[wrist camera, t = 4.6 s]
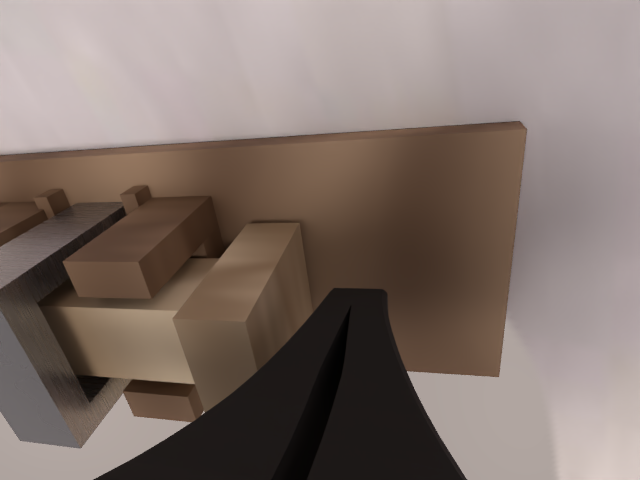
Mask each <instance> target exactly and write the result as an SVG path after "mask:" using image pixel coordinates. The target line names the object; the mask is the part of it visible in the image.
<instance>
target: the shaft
mask: <svg viewBox="0 0 640 480" xmlns="http://www.w3.org/2000/svg"><path fill="white" fill-rule="evenodd" d="M37 303H38V305H39V307H40V309H41V311H42V313H43V315H44V317H45V319H46V321H47V323H48V324H49V326H50V328H51V330H52V332H53V334H54V336H55V338H56V340H57V342H58V344H59V345H60V347H61V349H62V351H63V353H64V355H65V357H66V359H67V361H68V363H69V364H70V366H71V368H72V370H73V372H74V374H75V375H87V376H100V377H112V378H124V379H137V380H149V381H162V382H174V383H187V384H195V386H196V389H197V391H198V394H199V397H200V400H201V403H202V406H203V409H204V411H205V412H207V411H208V410H210V409H211V408H212V407H214V406H215V405H217V404H218V403H219V402H221V401H222V400H224V399H225V398H226V397H227V396H229V395H230V394H231V393H233V392H234V391H235V390H236V389H237V388H239V387H240V386H241V385H242V384H243V383H244V382H246V381H247V380H248V379H249V378H250V377H251V376H253V375H254V374H255V373H256V372H257V371H258V370H259V369H260V368H261V367H262V366H263V365H265V364H266V363H267V362H268V361H269V360H270V359H271V358H272V357H273V356H274V355H275V354H276V353H277V352H278V351H279V350H280V349H281V348H282V347H283V346H284V345H285V344H286V342H287V341H288V340H289V339H290V338H291V337H292V336H293V335H294V334H295V333H296V331H297V330H298V329H299V328H300V327H301V326H302V325H303V324H304V323H305V321H306V320H307V319H308V318H309V317H310V316H311V314H312V313H313V308H312V301H311V295H310V288H309V282H308V275H307V269H306V262H305V256H304V249H303V242H302V236H301V229H300V223H251V224H246V226H245V227H244V228H243V229H242V231H241V232H240V233H239V235H238V236H237V237H236V238H235V240H234V241H233V242H232V243H231V245H230V246H229V247H228V248H227V250H226V251H225V252H224V254H223V255H222V256H221V257H220V258H189V259H188V260H187V261H186V262H185V263H184V264H183V265H182V266H181V267H180V269H179V270H178V271H177V272H176V273H175V274H174V275H173V276H172V277H171V278H170V280H169V281H168V282H167V283H166V284H165V285H164V286H163V287H162V288H161V289H160V291H159V292H158V293H157V294H156V295H155V296H154V297H153V298H152V299H133V298H99V297H79V296H78V294H77V292H76V290H75V288H74V286H73V283H72V281H71V279H70V277H69V278H68V279H67V280H66V281H64V282H63V283H62V284H60V285H59V286H58V287H57V288H55V289H54V290H53V291H51V292H50V293H49V294H47V295H46V296H45V297H44V298H42V299H41V300H40V301H38V302H37Z"/></svg>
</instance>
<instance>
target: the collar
mask: <svg viewBox="0 0 640 480" xmlns="http://www.w3.org/2000/svg"><path fill="white" fill-rule="evenodd" d="M125 216H127V214H126V211H125V208H124V206H123V203H122V202H90V203H76V204H74V205H72V206H70V207H69V208H67V209H65V210H63V211H62V212H60V213H58V214H57V215H55V216H53V217H51V218H50V219H48V220H46V221H44V222H43V223H41V224H39V225H37V226H36V227H34V228H32V229H30V230H29V231H27V232H25V233H23V234H22V235H20V236H18V237H16V238H15V239H13V240H11V241H9V242H8V243H6V244H4V245H2V246H1V247H0V412H1V413H2V415H3V416H4V418H5V419H6V421H7V422H8V424H9V425H10V426H11V428H12V429H13V431H14V432H15V434H16V435H17V437H18V438H19V440H20V441H27V442H34V443H42V444H49V445H57V446H66V447H73V448H82V446H83V445H84V444H85V442H86V441H87V440H88V438H89V437H90V436H91V434H92V433H93V432H94V430H95V429H96V428H97V427H98V425H99V424H100V422H101V421H102V420H103V419H104V417H105V416H106V415H107V413H108V412H109V411H110V410H111V408H112V407H113V405H114V404H115V403H116V402H117V400H118V399H119V398H120V396H121V395H122V394H123V390H124V389H125V388H126V386H127V385H128V384H129V382H130V381H131V380H132V379H124V378H112V377H100V376H87V375H75V374H74V372H73V370H72V368H71V366H70V364H69V363H68V361H67V359H66V357H65V355H64V353H63V351H62V349H61V347H60V345H59V344H58V342H57V340H56V338H55V336H54V334H53V332H52V330H51V328H50V326H49V324H48V323H47V321H46V319H45V317H44V315H43V313H42V311H41V309H40V307H39V305H38V303H37V302H38V301H40V300H41V299H42V298H44V297H45V296H46V295H47V294H49V293H50V292H51V291H53V290H54V289H55V288H57V287H58V286H59V285H60V284H62V283H63V282H64V281H66V280H67V279H68V278H69V275H68V273H67V271H66V268H65V266H64V264H63V262H62V261H64V260H65V259H66V258H68V257H69V256H71V255H72V254H73V253H75V252H76V251H78V250H79V249H80V248H82V247H83V246H85V245H86V244H87V243H89V242H90V241H92V240H93V239H94V238H96V237H97V236H99V235H100V234H101V233H103V232H104V231H106V230H107V229H108V228H110V227H111V226H113V225H114V224H115V223H117V222H118V221H120V220H121V219H122V218H124V217H125Z"/></svg>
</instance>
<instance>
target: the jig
mask: <svg viewBox="0 0 640 480" xmlns="http://www.w3.org/2000/svg"><path fill="white" fill-rule="evenodd" d="M526 133H527V129H526V128H525V127H524V125H523V124H522V123H521V122H520V121H517V122H502V123H487V124H471V125H456V126H441V127H426V128H411V129H395V130H380V131H365V132H350V133H335V134H320V135H304V136H289V137H274V138H259V139H244V140H229V141H213V142H198V143H183V144H168V145H153V146H137V147H122V148H107V149H92V150H77V151H62V152H46V153H31V154H16V155H1V156H0V247H1V246H2V245H4V244H6V243H8V242H9V241H11V240H13V239H15V238H16V237H18V236H20V235H22V234H23V233H25V232H27V231H29V230H30V229H32V228H34V227H36V226H37V225H39V224H41V223H43V222H44V221H46V220H48V219H50V218H51V217H53V216H55V215H57V214H58V213H60V212H62V211H63V210H65V209H67V208H69V207H70V206H72V205H74V204H76V203H90V202H122V203H123V206H124V208H125V211H126V214H127V216H125V217H124V218H122V219H121V220H120V221H118V222H117V223H115V224H114V225H113V226H111V227H110V228H108V229H107V230H106V231H104V232H103V233H101V234H100V235H99V236H97V237H96V238H94V239H93V240H92V241H90V242H89V243H87V244H86V245H85V246H83V247H82V248H80V249H79V250H78V251H76V252H75V253H73V254H72V255H71V256H69V257H68V258H66V259H65V260H64V261H62V262H63V264H64V266H65V268H66V271H67V273H68V275H69V277H70V279H71V281H72V283H73V286H74V288H75V290H76V292H77V294H78V296H79V297H99V298H133V299H152V298H153V297H154V296H155V295H156V294H157V293H158V292H159V291H160V289H161V288H162V287H163V286H164V285H165V284H166V283H167V282H168V281H169V280H170V278H171V277H172V276H173V275H174V274H175V273H176V272H177V271H178V270H179V269H180V267H181V266H182V265H183V264H184V263H185V262H186V261H187V260H188V259H189V258H220V257H221V256H222V255H223V254H224V252H225V251H226V250H227V248H228V247H229V246H230V245H231V243H232V242H233V241H234V240H235V238H236V237H237V236H238V235H239V233H240V232H241V231H242V229H243V228H244V227H245V226H246V224H251V223H300V229H301V236H302V242H303V249H304V256H305V262H306V269H307V275H308V282H309V288H310V295H311V301H312V308H313V312H314V311H315V310H316V308H317V307H318V306H319V305H320V303H321V302H322V301H323V300H324V298H325V297H326V296H327V295H328V293H329V292H330V291H331V290H332V289H333V288H364V289H383V290H385V291H386V292H387V294H388V315H389V320H390V325H391V328H392V332H393V335H394V338H395V341H396V345H397V348H398V351H399V353H400V356H401V359H402V361H403V364H404V366H405V369H406V371H414V372H429V373H444V374H461V375H475V376H491V377H499V372H500V363H501V354H502V345H503V337H504V328H505V319H506V310H507V301H508V292H509V284H510V275H511V266H512V257H513V248H514V239H515V230H516V222H517V213H518V204H519V195H520V186H521V177H522V168H523V160H524V151H525V142H526ZM123 393H124V395H125V397H126V400H127V401H128V404H129V406H130V408H131V410H132V413H133V414H134V416H137V417H147V418H157V419H167V420H176V421H186V422H193V421H194V420H196V419H197V418H199V417H200V416H201V414H202V413H203V411H204V409H203V406H202V403H201V400H200V397H199V394H198V391H197V389H196V386H195V384H187V383H174V382H162V381H149V380H137V379H132V380H131V381H130V382H129V384H128V385H127V386H126V388H125V389H124V390H123Z"/></svg>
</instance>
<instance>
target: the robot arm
mask: <svg viewBox="0 0 640 480" xmlns="http://www.w3.org/2000/svg"><path fill="white" fill-rule="evenodd" d="M94 480H467V479H466V478H465V476H464V474H463V473H462V471H461V470H460V468H459V467H458V465H457V463H456V462H455V460H454V459H453V457H452V455H451V454H450V452H449V451H448V449H447V447H446V446H445V444H444V443H443V441H442V440H441V438H440V436H439V435H438V433H437V431H436V429H435V427H434V426H433V424H432V422H431V420H430V419H429V417H428V415H427V413H426V411H425V409H424V407H423V405H422V403H421V401H420V400H419V397H418V396H417V393H416V391H415V389H414V387H413V385H412V383H411V381H410V378H409V376H408V374H407V371H406V369H405V366H404V364H403V361H402V359H401V356H400V353H399V351H398V348H397V345H396V341H395V338H394V335H393V332H392V328H391V325H390V320H389V315H388V294H387V292H386V291H385V290H383V289H364V288H333V289H332V290H331V291H330V292H329V293H328V295H327V296H326V297H325V298H324V300H323V301H322V302H321V303H320V305H319V306H318V307H317V308H316V310H315V311H314V312H313V313H312V314H311V316H310V317H309V318H308V319H307V320H306V321H305V323H304V324H303V325H302V326H301V327H300V328H299V329H298V330H297V331H296V333H295V334H294V335H293V336H292V337H291V338H290V339H289V340H288V341H287V342H286V344H285V345H284V346H283V347H282V348H281V349H280V350H279V351H278V352H277V353H276V354H275V355H274V356H273V357H272V358H271V359H270V360H269V361H268V362H267V363H266V364H265V365H263V366H262V367H261V368H260V369H259V370H258V371H257V372H256V373H255V374H254V375H253V376H251V377H250V378H249V379H248V380H247V381H246V382H244V383H243V384H242V385H241V386H240V387H239V388H237V389H236V390H235V391H234V392H233V393H231V394H230V395H229V396H227V397H226V398H225V399H224V400H222V401H221V402H219V403H218V404H217V405H215V406H214V407H212V408H211V409H210V410H208V411H207V412H205V413H204V414H203V415H201V416H200V417H199V418H197V419H196V420H194V421H193V422H192V423H190V424H189V425H187V426H186V427H184V428H183V429H181V430H180V431H178V432H176V433H175V434H174V435H172V436H170V437H168V438H167V439H165V440H164V441H162V442H160V443H159V444H157V445H155V446H154V447H152V448H151V449H149V450H147V451H145V452H144V453H142V454H140V455H138V456H137V457H135V458H134V459H132V460H130V461H128V462H126V463H124V464H122V465H120V466H118V467H117V468H115V469H113V470H111V471H109V472H107V473H105V474H103V475H101V476H99V477H98V478H96V479H94Z"/></svg>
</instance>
